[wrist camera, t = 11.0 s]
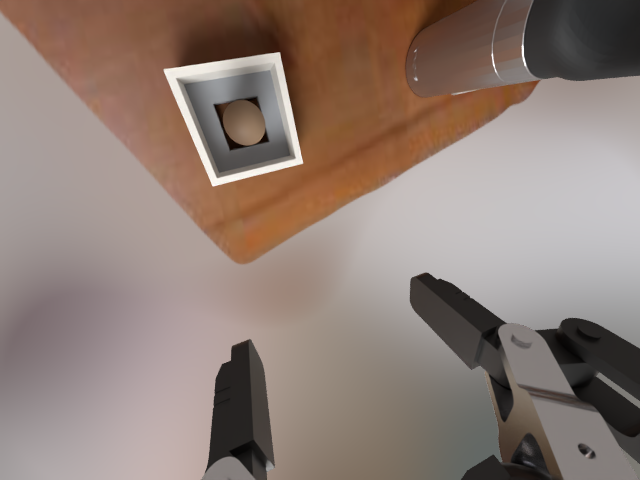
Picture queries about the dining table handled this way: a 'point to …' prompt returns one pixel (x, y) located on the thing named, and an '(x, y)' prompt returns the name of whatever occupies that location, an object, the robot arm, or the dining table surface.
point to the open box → (228, 86)
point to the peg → (244, 122)
